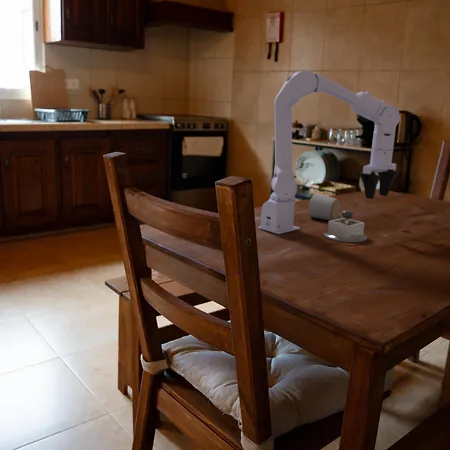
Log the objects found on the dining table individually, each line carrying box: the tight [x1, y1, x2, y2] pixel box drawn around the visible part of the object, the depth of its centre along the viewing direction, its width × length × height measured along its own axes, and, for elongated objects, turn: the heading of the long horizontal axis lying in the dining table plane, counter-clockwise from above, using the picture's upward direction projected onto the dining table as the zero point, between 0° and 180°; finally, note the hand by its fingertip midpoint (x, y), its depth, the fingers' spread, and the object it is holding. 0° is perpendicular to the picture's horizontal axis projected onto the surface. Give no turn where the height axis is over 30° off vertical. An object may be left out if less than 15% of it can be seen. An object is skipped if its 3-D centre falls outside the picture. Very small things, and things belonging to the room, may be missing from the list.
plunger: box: [341, 209, 354, 225], centre depth 141 cm, size 5×5×6 cm
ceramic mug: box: [308, 193, 341, 221], centre depth 162 cm, size 11×8×8 cm
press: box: [323, 217, 368, 244], centre depth 142 cm, size 12×12×4 cm
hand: (376, 197), depth 146 cm, fingers open, 7 cm apart
